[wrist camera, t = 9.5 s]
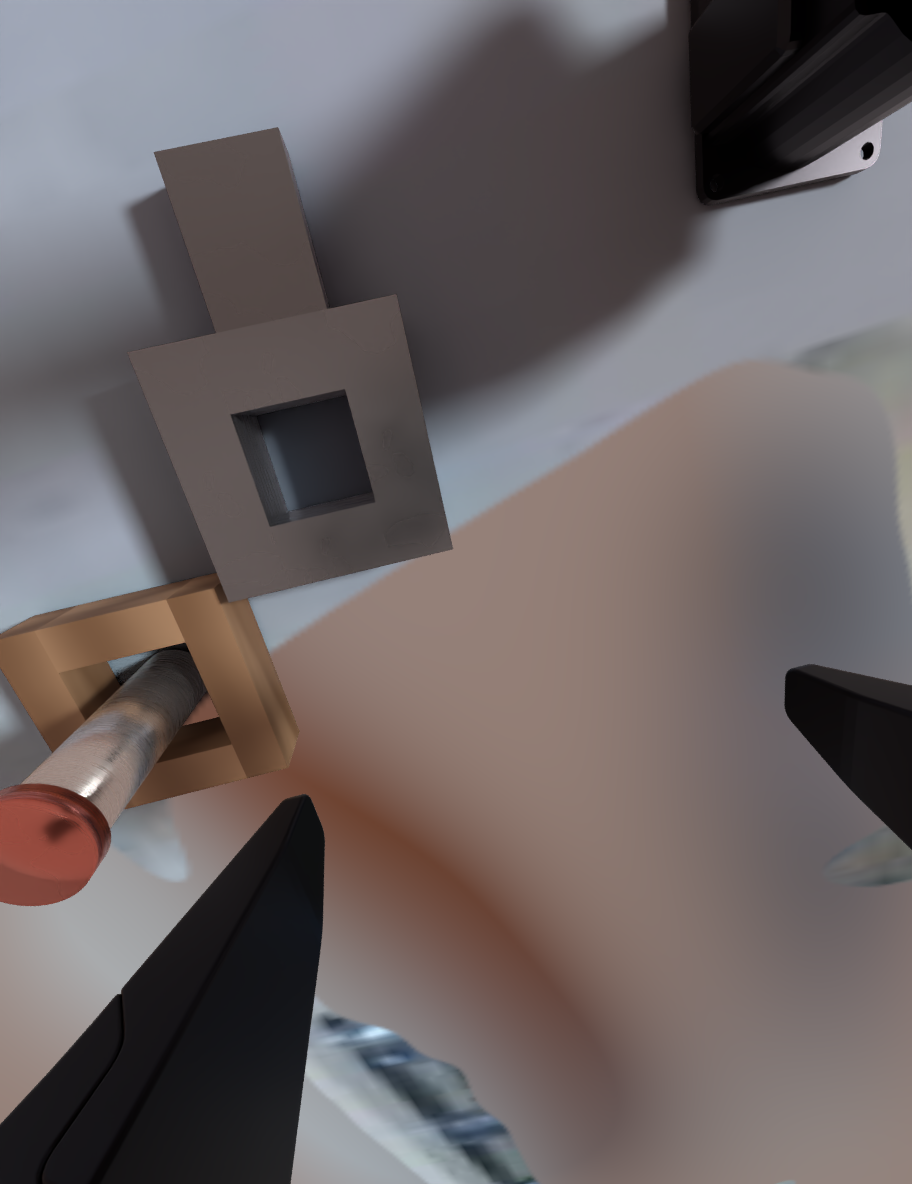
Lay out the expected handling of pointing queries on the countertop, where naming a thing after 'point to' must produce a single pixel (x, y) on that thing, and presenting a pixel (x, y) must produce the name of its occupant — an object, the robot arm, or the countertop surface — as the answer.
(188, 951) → the robot arm
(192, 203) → the block
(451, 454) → the countertop surface
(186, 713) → the hitch pin
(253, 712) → the frame
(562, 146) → the countertop surface
